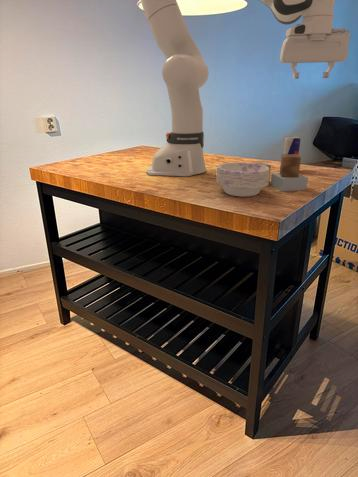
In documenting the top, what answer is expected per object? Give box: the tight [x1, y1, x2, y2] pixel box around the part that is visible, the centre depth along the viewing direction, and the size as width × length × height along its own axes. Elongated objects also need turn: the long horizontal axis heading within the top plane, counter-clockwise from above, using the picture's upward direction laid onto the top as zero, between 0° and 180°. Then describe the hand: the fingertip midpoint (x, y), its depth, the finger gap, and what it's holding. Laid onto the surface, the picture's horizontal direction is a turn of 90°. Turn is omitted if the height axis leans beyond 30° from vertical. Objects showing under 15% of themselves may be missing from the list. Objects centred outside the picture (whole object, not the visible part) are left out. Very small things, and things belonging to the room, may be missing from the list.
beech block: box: [254, 161, 272, 184], centre depth 116 cm, size 5×5×6 cm
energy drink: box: [283, 135, 301, 156], centre depth 130 cm, size 5×5×12 cm
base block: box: [270, 172, 309, 192], centre depth 110 cm, size 8×8×4 cm
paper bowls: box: [215, 162, 271, 198], centre depth 104 cm, size 15×15×8 cm
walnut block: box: [279, 153, 302, 177], centre depth 108 cm, size 5×5×6 cm
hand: (310, 78), depth 114 cm, fingers open, 8 cm apart
